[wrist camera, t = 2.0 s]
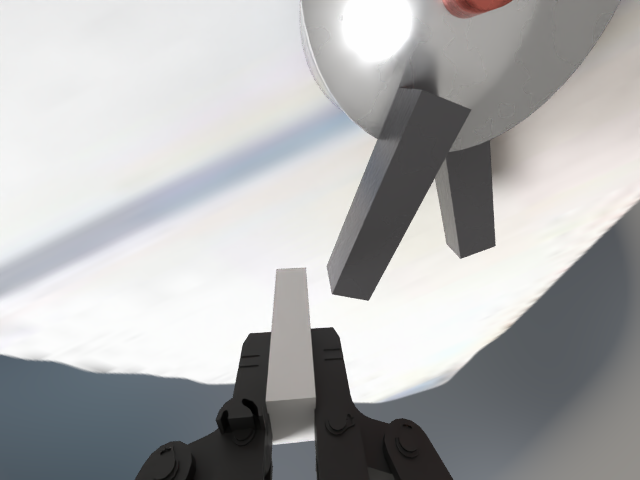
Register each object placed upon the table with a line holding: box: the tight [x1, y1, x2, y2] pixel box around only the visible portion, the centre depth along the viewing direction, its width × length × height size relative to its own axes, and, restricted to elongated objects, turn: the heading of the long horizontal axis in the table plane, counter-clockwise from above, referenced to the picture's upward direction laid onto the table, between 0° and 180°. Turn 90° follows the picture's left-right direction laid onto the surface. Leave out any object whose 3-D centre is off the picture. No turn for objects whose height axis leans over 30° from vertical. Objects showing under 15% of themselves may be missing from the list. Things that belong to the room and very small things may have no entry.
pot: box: [300, 2, 495, 259], centre depth 19 cm, size 30×15×10 cm, turn 22°
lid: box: [300, 0, 621, 301], centre depth 13 cm, size 25×16×4 cm, turn 162°
